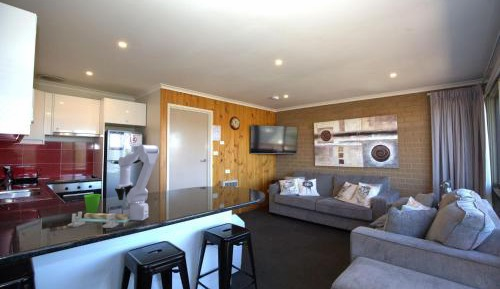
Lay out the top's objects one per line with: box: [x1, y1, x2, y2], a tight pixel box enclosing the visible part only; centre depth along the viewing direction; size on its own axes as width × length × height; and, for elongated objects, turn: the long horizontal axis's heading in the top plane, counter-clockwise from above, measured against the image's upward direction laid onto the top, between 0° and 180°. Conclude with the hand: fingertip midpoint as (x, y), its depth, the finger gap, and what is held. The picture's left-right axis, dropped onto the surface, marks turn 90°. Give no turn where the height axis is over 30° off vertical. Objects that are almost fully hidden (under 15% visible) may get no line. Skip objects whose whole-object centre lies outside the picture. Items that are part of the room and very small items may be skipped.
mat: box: [82, 216, 130, 224], centre depth 138 cm, size 26×10×1 cm, turn 88°
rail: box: [83, 212, 129, 220], centre depth 138 cm, size 24×2×2 cm, turn 86°
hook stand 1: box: [67, 211, 87, 228], centre depth 128 cm, size 5×6×6 cm
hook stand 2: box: [101, 212, 120, 229], centre depth 127 cm, size 5×6×6 cm
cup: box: [83, 193, 102, 213], centre depth 152 cm, size 9×9×11 cm
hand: (124, 198), depth 151 cm, fingers open, 7 cm apart
